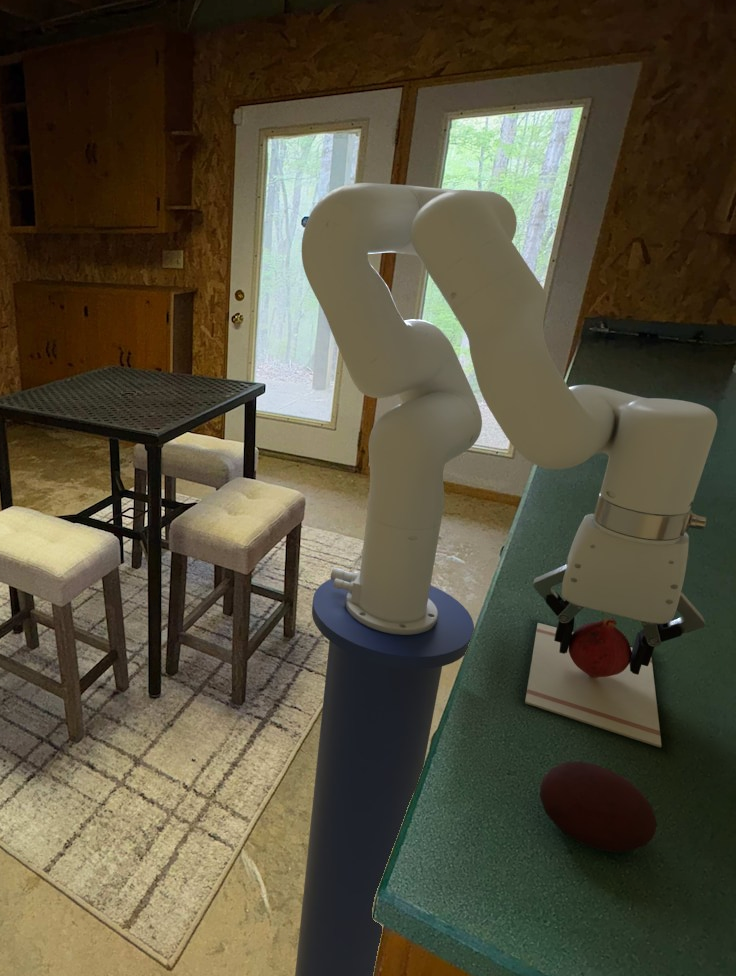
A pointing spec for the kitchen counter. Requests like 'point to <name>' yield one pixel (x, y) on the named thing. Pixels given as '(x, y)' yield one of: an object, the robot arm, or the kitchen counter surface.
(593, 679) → the napkin
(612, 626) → the pomegranate
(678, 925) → the kitchen counter surface
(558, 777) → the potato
